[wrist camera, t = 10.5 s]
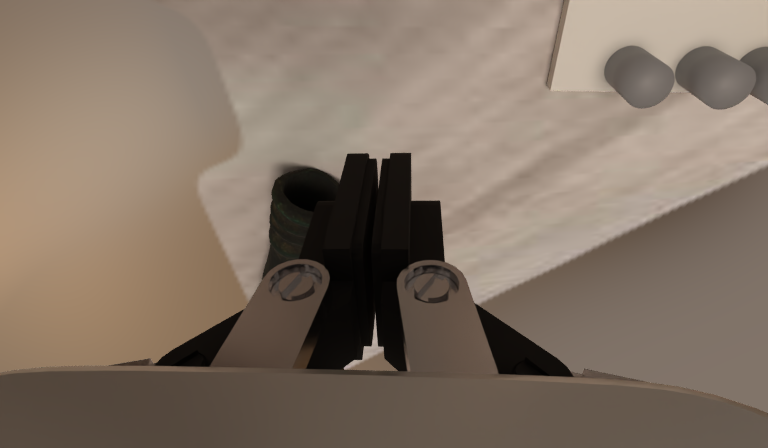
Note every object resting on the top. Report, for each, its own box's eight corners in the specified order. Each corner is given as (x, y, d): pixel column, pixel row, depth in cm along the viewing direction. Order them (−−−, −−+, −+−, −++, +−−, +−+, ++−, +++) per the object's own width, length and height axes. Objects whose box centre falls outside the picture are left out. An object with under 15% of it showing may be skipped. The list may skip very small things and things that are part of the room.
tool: (289, 152, 40) (268, 191, 35) (355, 183, 41) (345, 226, 36) (212, 330, 55) (189, 376, 50) (262, 348, 56) (245, 396, 51)
